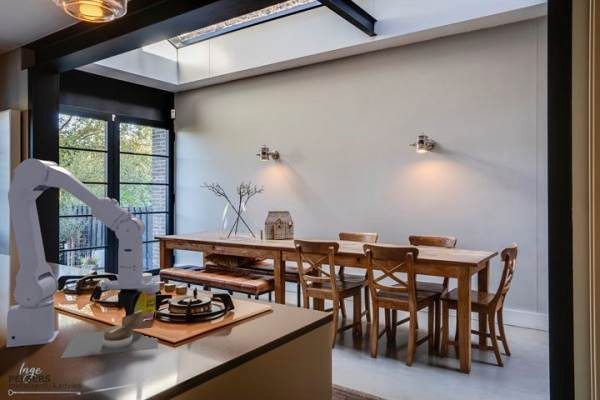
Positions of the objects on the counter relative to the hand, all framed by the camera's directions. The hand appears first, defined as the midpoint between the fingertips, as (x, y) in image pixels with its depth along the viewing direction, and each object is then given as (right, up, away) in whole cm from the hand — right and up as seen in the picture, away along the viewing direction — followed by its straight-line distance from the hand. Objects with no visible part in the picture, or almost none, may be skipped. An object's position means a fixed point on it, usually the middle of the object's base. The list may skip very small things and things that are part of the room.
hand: (130, 319), depth 106 cm
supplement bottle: (-2, -4, +14) cm, 15 cm away
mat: (-2, -4, -4) cm, 6 cm away
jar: (-1, -4, -6) cm, 7 cm away
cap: (0, -2, -3) cm, 4 cm away
